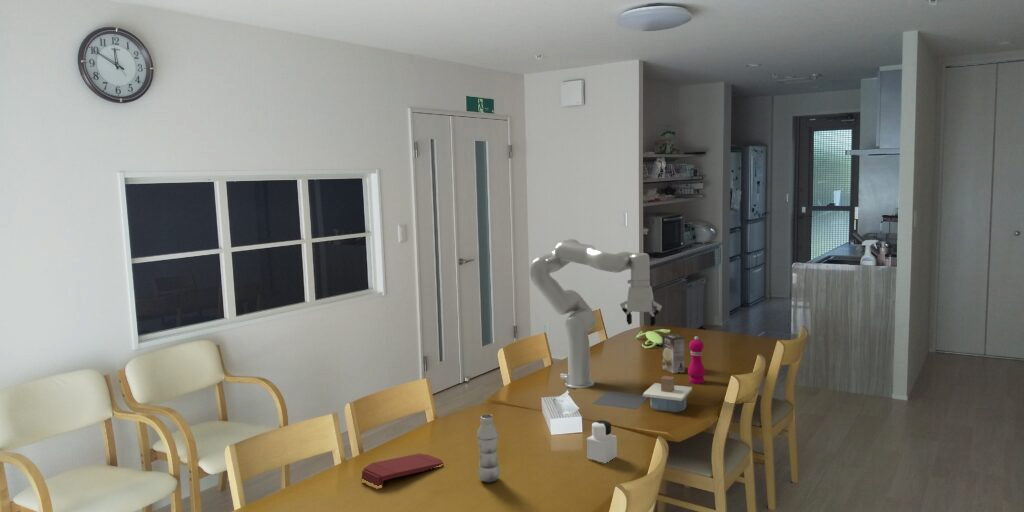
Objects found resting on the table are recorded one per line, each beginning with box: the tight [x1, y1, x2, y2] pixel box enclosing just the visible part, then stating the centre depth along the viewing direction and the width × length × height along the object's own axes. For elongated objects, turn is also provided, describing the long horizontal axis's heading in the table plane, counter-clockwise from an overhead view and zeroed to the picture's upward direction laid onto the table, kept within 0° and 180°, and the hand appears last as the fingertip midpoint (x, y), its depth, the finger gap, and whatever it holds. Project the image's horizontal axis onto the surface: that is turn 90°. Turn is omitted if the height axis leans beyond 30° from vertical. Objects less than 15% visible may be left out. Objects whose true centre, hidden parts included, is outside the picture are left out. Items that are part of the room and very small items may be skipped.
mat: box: [591, 390, 649, 410], centre depth 287 cm, size 18×18×1 cm
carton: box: [361, 453, 444, 486], centre depth 226 cm, size 12×5×25 cm
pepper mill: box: [687, 335, 706, 385], centre depth 308 cm, size 7×7×20 cm
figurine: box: [635, 328, 671, 349], centre depth 381 cm, size 18×27×6 cm
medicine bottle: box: [586, 419, 618, 464], centre depth 230 cm, size 7×7×12 cm
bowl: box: [649, 396, 687, 413], centre depth 278 cm, size 13×13×6 cm
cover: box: [642, 375, 693, 401], centre depth 277 cm, size 15×15×6 cm
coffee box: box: [661, 333, 685, 374], centre depth 327 cm, size 9×6×16 cm
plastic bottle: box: [476, 413, 501, 483], centre depth 216 cm, size 6×7×20 cm
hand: (641, 324), depth 294 cm, fingers open, 9 cm apart
